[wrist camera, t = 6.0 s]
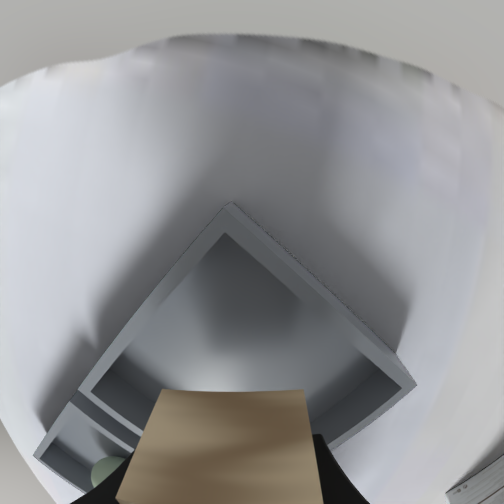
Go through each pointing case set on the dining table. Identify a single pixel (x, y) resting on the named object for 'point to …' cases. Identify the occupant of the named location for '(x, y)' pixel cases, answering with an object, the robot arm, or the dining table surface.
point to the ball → (104, 468)
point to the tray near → (248, 337)
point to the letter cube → (224, 450)
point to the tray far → (83, 441)
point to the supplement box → (481, 487)
